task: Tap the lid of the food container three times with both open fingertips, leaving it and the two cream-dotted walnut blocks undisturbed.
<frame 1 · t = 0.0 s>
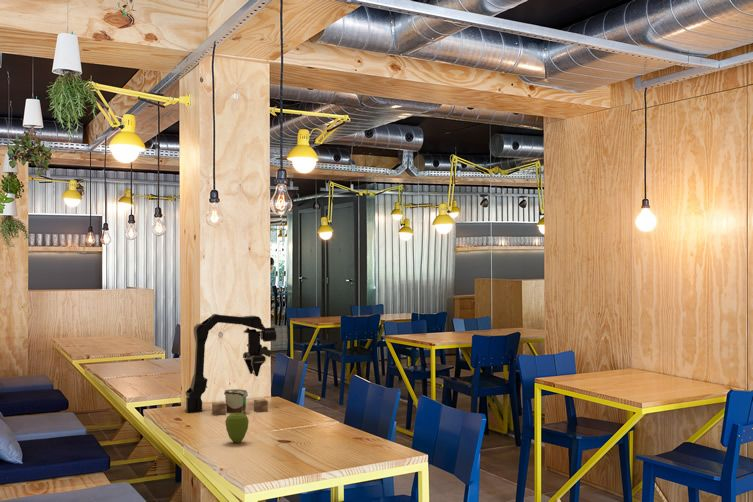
hand: (254, 375, 340), 15 cm above the table, fingers open, 9 cm apart
food container: (238, 412, 325), on the table
dotted block right: (260, 411, 328), on the table
green tapered egg: (236, 443, 268), on the table
dotted block left: (219, 414, 321), on the table
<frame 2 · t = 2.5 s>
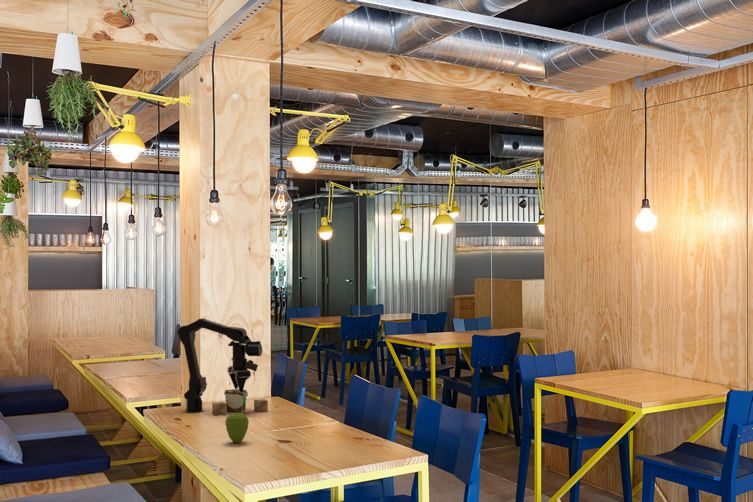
hand: (238, 390, 325), 10 cm above the table, fingers open, 9 cm apart
food container: (238, 412, 325), on the table, touching gripper
everything else where it was.
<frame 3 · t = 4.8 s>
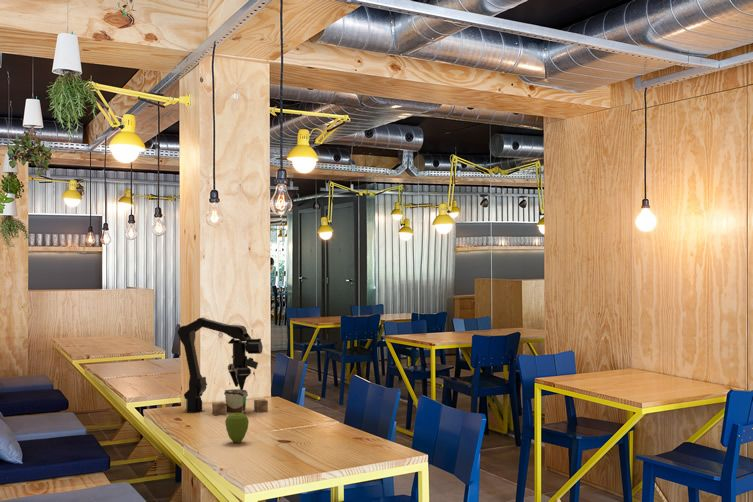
hand: (239, 388, 325), 11 cm above the table, fingers open, 9 cm apart
food container: (238, 412, 325), on the table
everything else where it was.
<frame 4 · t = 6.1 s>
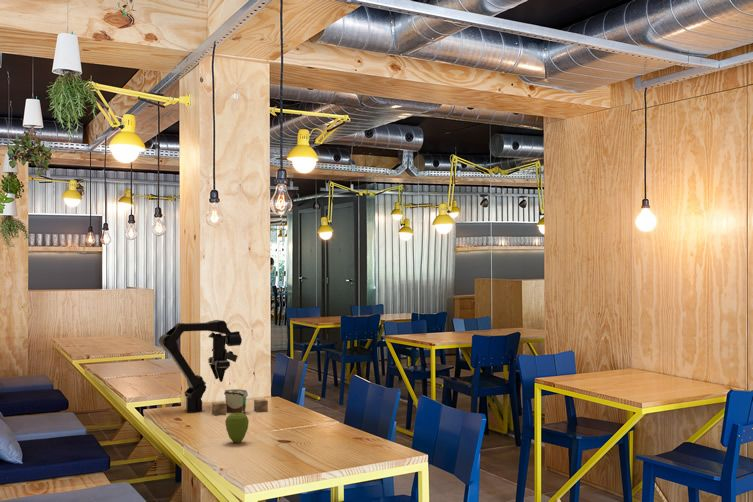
hand: (218, 380, 335), 13 cm above the table, fingers open, 9 cm apart
nothing on the table moved.
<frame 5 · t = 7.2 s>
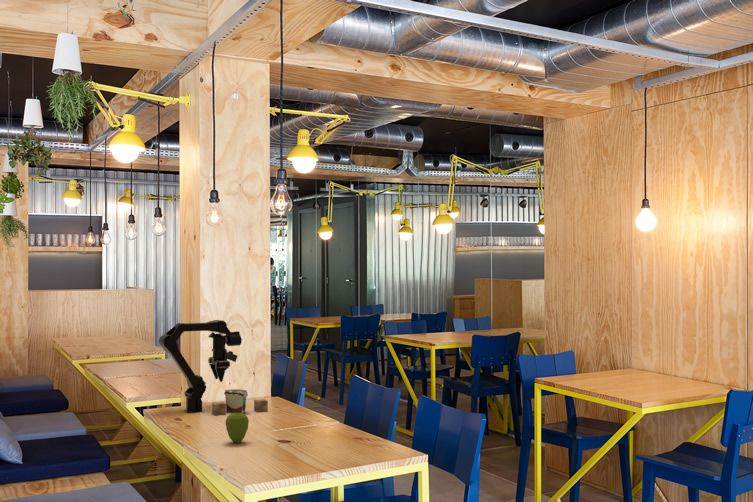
hand: (218, 380, 335), 13 cm above the table, fingers open, 9 cm apart
nothing on the table moved.
at the end: food container moved 0.2 cm from its start; food container tilted 0°; dotted block right moved 0.1 cm from its start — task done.
